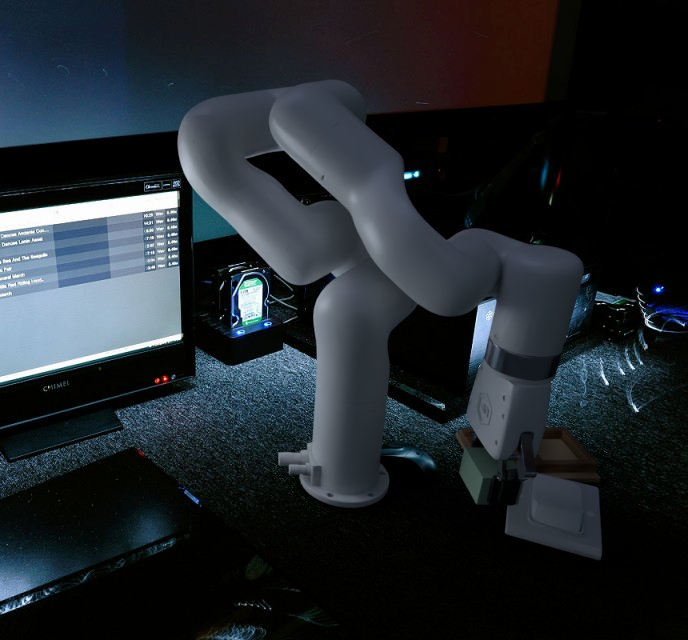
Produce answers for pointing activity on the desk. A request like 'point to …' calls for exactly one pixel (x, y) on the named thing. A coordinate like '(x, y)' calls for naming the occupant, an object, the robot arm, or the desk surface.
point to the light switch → (558, 515)
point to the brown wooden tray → (555, 455)
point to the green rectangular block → (481, 473)
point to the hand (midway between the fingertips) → (490, 484)
